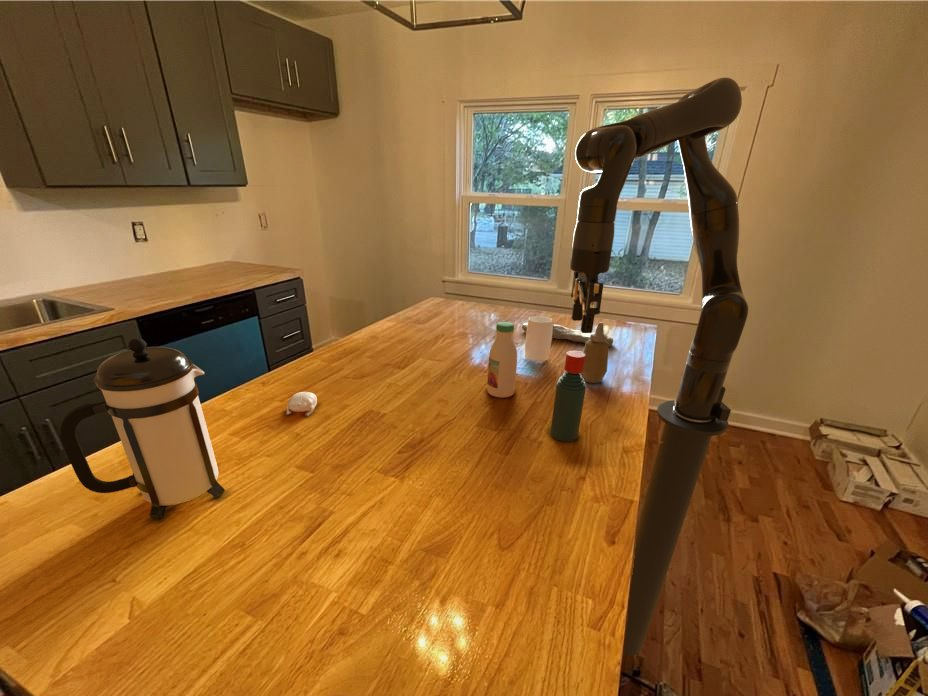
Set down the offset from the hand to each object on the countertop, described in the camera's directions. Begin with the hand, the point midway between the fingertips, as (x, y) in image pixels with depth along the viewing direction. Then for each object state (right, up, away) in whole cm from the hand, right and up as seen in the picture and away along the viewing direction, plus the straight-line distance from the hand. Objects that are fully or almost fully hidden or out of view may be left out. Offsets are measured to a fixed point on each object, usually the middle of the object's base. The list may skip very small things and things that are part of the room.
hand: (581, 326), depth 89 cm
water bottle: (-1, -24, +11) cm, 26 cm away
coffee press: (-77, -33, -12) cm, 85 cm away
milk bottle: (-14, -15, +30) cm, 36 cm away
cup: (-1, -4, +52) cm, 52 cm away
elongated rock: (+14, +5, +73) cm, 75 cm away
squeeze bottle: (+14, -11, +39) cm, 43 cm away
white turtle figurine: (-66, -19, +18) cm, 71 cm away
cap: (-1, -9, +4) cm, 10 cm away
